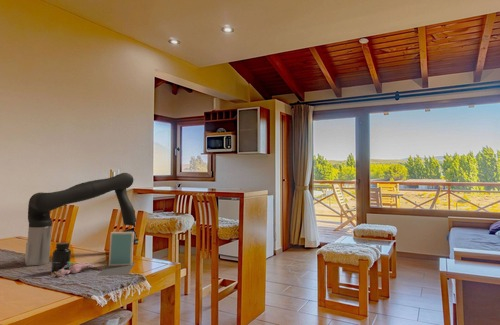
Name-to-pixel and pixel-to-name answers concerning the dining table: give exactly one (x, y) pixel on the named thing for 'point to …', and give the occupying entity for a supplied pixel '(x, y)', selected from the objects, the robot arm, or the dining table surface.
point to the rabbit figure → (73, 269)
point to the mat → (116, 270)
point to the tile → (121, 248)
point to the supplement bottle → (61, 257)
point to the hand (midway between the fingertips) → (122, 244)
